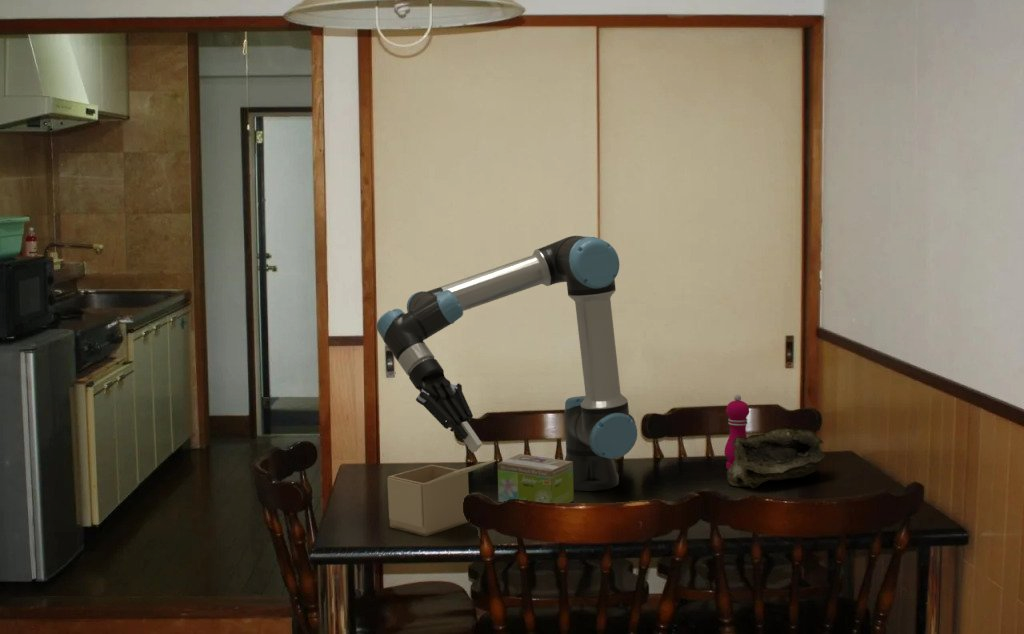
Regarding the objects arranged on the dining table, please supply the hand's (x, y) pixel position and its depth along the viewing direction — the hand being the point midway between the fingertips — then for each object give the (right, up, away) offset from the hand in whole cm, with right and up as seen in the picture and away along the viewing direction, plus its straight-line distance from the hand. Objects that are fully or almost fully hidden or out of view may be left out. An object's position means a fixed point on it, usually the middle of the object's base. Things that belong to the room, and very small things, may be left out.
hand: (477, 448), depth 267 cm
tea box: (+13, -19, +12) cm, 26 cm away
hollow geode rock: (+76, -13, +42) cm, 87 cm away
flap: (-7, -8, +8) cm, 13 cm away
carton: (-11, -19, +14) cm, 26 cm away
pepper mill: (+68, -12, +56) cm, 89 cm away
